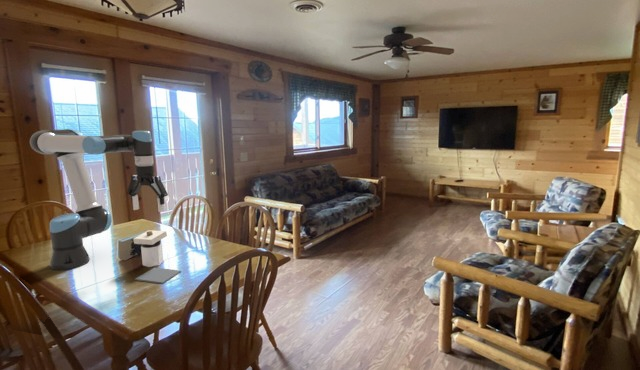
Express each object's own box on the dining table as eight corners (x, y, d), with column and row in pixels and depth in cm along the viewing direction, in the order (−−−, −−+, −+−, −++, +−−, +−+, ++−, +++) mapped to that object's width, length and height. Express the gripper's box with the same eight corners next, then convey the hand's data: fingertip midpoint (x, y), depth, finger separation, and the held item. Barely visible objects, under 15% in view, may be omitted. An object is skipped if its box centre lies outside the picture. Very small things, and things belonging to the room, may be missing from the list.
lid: (134, 243, 160) (132, 235, 159) (149, 235, 169) (147, 227, 168) (152, 244, 157) (150, 236, 156) (166, 235, 167) (165, 228, 166)
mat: (135, 280, 148) (134, 278, 148) (154, 268, 160) (154, 267, 159) (163, 283, 145) (163, 282, 145) (181, 271, 156) (181, 270, 156)
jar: (143, 268, 160) (141, 243, 158) (141, 262, 166) (139, 238, 164) (164, 264, 165) (162, 240, 162) (161, 258, 171) (159, 235, 169)
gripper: (115, 165, 156) (119, 210, 160) (162, 166, 150) (166, 214, 154) (128, 163, 164) (132, 206, 167) (173, 164, 158) (177, 210, 161)
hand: (148, 210), depth 161 cm, fingers open, 13 cm apart
